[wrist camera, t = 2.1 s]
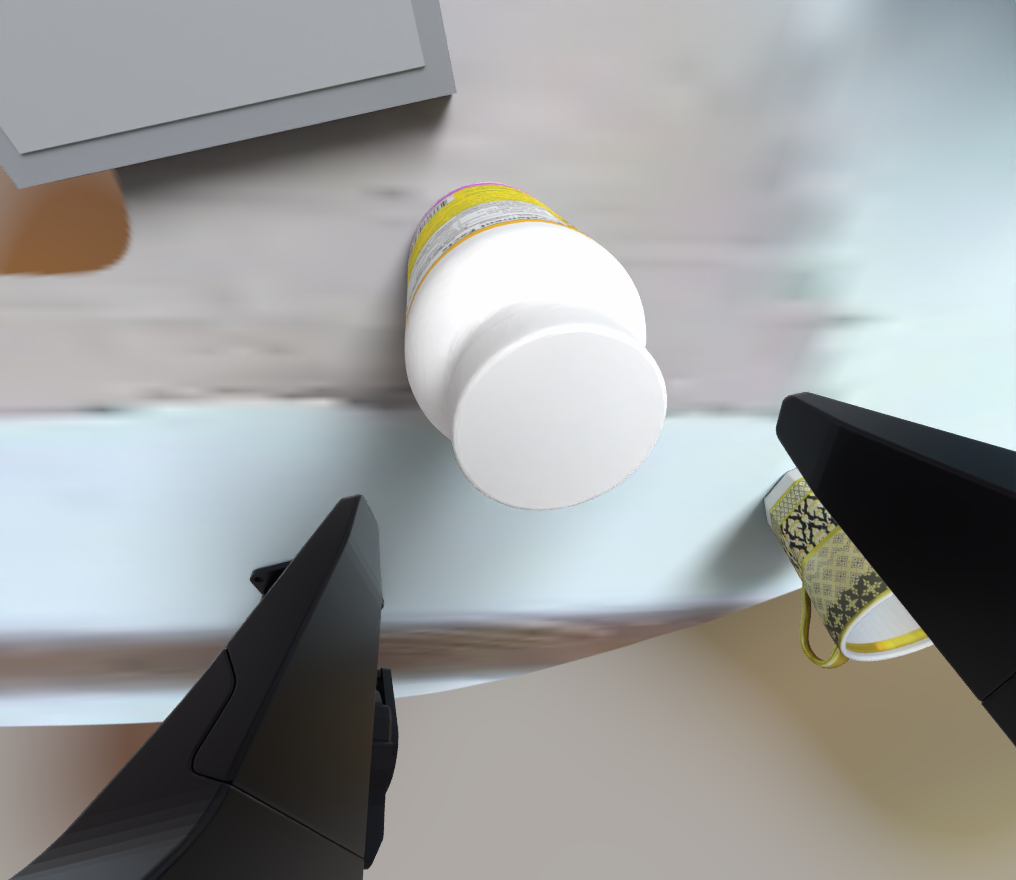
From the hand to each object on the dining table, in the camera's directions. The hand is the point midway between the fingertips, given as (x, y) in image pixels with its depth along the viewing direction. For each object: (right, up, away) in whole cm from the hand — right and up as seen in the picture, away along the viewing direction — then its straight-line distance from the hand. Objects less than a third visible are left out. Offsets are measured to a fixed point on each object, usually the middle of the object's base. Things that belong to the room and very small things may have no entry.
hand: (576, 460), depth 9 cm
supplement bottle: (-2, +8, +10) cm, 13 cm away
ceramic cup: (+20, -4, +24) cm, 32 cm away
